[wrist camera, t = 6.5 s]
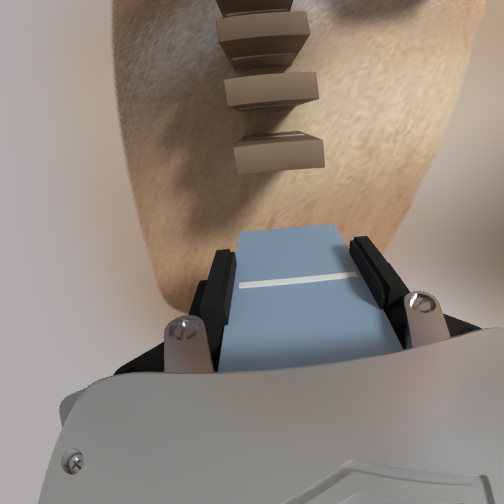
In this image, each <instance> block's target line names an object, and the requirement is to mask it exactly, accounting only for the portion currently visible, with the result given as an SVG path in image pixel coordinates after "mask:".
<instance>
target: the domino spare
mask: <svg viewBox="0 0 504 504" xmlns="http://www.w3.org/2000/svg"><path fill="white" fill-rule="evenodd" d="M236 262H237V267H236V274H235V281H234V288H233V295H232V301H231V308H230V315H229V323H228V325H225V328H224V334H223V341H222V347H221V354H220V361H219V367H218V372H236V371H256V370H271V369H283V368H293V367H303V366H312V365H320V364H327V363H334V362H341V361H347V360H353V359H359V358H365V357H370V356H375V355H380V354H385V353H390V352H395V351H399V350H403V348H402V346H401V344H400V342H399V340H398V338H397V336H396V334H395V332H394V330H393V328H392V326H391V324H390V322H389V320H388V318H387V316H386V314H385V312H384V310H383V309H379V307H378V305H377V303H376V301H375V299H374V297H373V295H372V293H371V292H370V290H369V288H368V286H367V284H366V282H365V280H364V279H363V277H362V275H361V273H360V271H359V270H358V268H357V266H356V264H355V263H354V261H353V259H352V257H351V256H350V254H349V248H348V247H347V245H346V243H345V242H344V240H343V238H342V237H341V235H340V234H339V232H338V230H337V229H336V227H335V226H334V224H325V225H313V226H302V227H291V228H280V229H269V230H259V231H248V232H240V234H239V240H238V246H237V252H236Z"/></svg>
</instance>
